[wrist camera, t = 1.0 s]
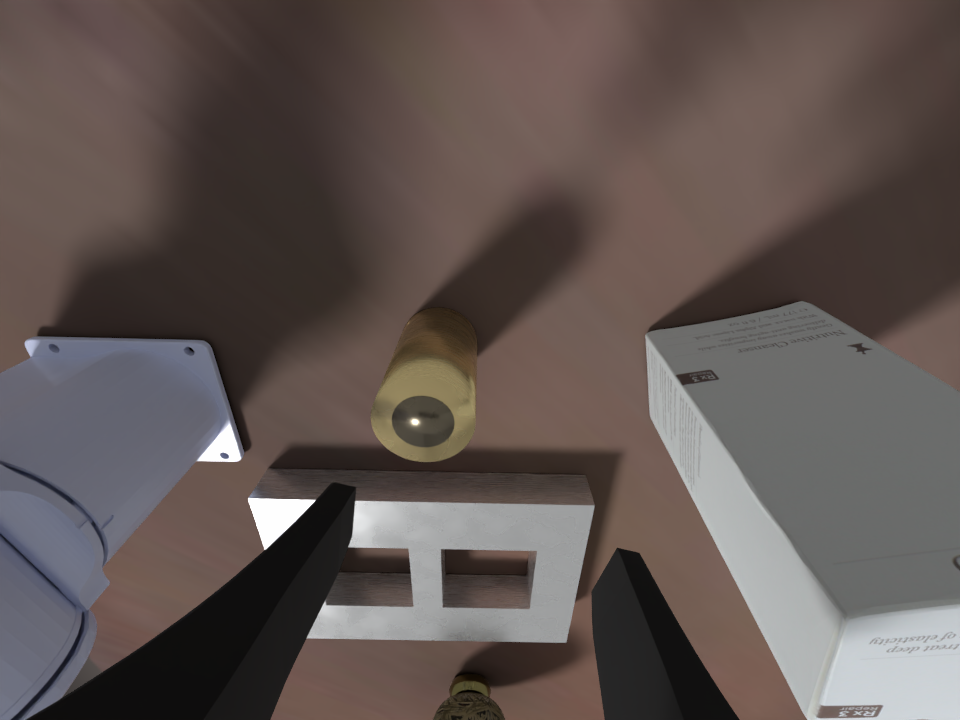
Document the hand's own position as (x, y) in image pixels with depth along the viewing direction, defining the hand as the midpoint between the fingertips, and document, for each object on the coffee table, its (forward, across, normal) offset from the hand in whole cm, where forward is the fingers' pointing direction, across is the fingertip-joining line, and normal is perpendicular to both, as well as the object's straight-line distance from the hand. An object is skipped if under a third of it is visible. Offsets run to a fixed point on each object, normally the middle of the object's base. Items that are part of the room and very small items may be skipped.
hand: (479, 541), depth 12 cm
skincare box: (+14, -12, -1) cm, 18 cm away
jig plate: (+12, +1, +17) cm, 20 cm away
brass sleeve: (+12, +3, +1) cm, 12 cm away
